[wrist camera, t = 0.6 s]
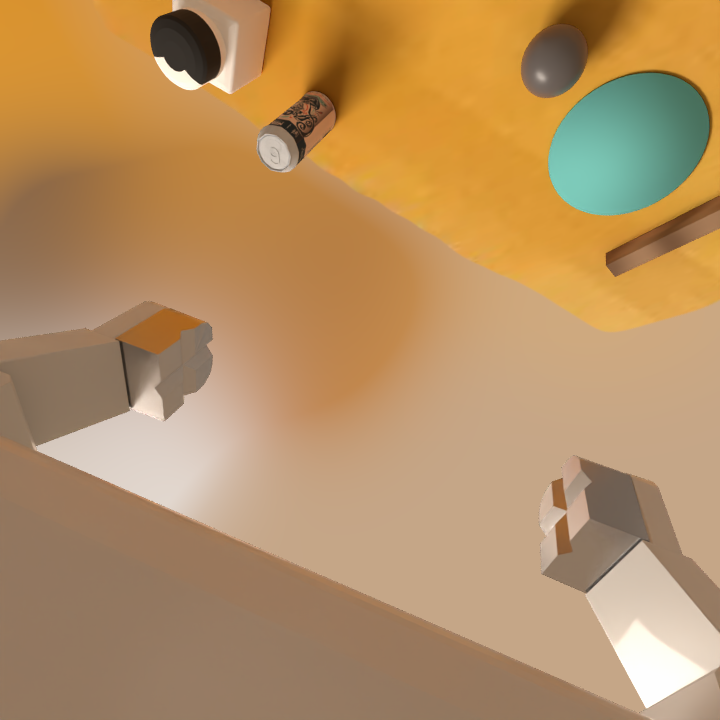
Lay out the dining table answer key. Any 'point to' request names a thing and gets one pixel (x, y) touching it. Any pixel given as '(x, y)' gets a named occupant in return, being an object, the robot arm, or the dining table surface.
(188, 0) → the medicine bottle
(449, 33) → the dining table surface
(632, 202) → the teal mark
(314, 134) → the beer can
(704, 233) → the walnut rail
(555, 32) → the dark grey ball
